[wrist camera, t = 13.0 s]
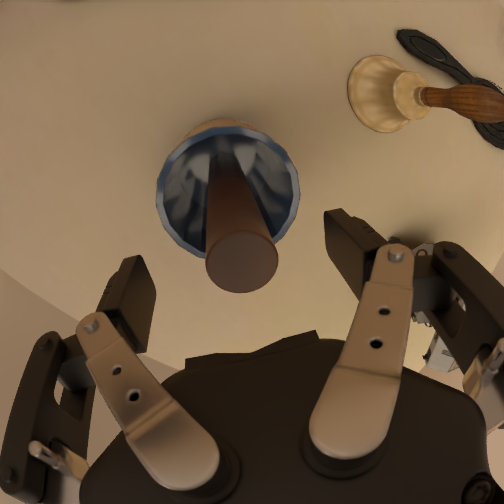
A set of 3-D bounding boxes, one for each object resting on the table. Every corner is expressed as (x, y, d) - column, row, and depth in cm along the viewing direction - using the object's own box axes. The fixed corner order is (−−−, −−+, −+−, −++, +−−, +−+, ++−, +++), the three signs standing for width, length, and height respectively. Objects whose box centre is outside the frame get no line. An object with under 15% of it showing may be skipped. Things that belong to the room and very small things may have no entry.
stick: (212, 186, 25) (216, 300, 12) (205, 157, 24) (196, 241, 10) (243, 179, 25) (283, 285, 12) (236, 149, 24) (273, 223, 10)
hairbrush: (418, 1, 15) (533, 119, 20) (399, 8, 18) (516, 114, 24) (402, 62, 19) (521, 167, 24) (383, 64, 22) (504, 159, 27)
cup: (188, 223, 27) (180, 275, 20) (162, 132, 23) (137, 148, 15) (279, 201, 28) (306, 245, 20) (262, 109, 23) (288, 112, 15)
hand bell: (330, 89, 23) (457, 95, 9) (379, 40, 20) (507, 26, 6) (383, 148, 26) (503, 206, 12) (425, 99, 23) (546, 129, 10)
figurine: (361, 301, 36) (414, 390, 23) (394, 223, 31) (477, 301, 18) (408, 302, 38) (461, 375, 25) (441, 233, 32) (515, 299, 19)
